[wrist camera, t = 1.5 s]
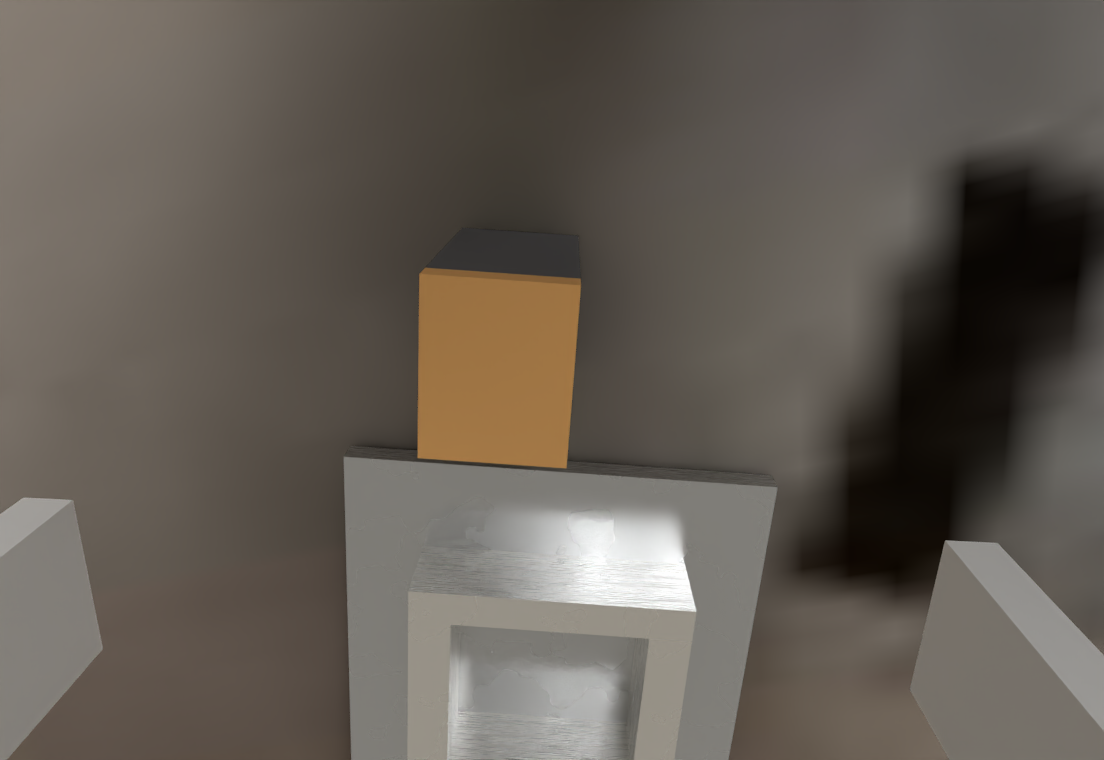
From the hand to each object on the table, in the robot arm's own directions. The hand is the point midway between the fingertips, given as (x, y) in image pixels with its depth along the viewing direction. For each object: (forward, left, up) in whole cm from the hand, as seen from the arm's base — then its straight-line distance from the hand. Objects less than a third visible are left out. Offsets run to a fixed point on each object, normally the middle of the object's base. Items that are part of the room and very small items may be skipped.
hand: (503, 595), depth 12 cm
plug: (-1, -1, -17) cm, 17 cm away
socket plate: (+15, +1, -17) cm, 23 cm away
